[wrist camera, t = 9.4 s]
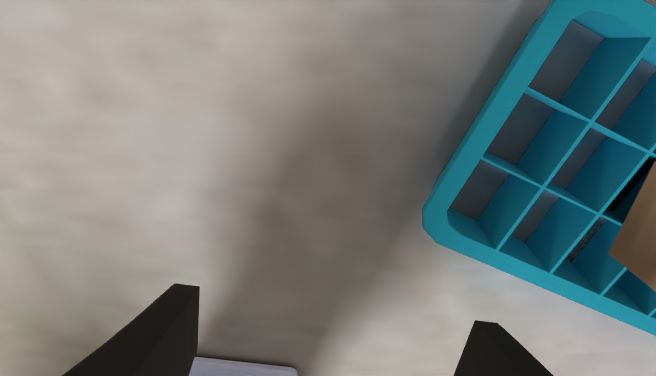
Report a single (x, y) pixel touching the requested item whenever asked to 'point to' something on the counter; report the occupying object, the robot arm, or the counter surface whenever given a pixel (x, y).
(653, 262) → the walnut block
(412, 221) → the counter surface
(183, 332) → the robot arm
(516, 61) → the ice cube tray
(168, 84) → the counter surface
